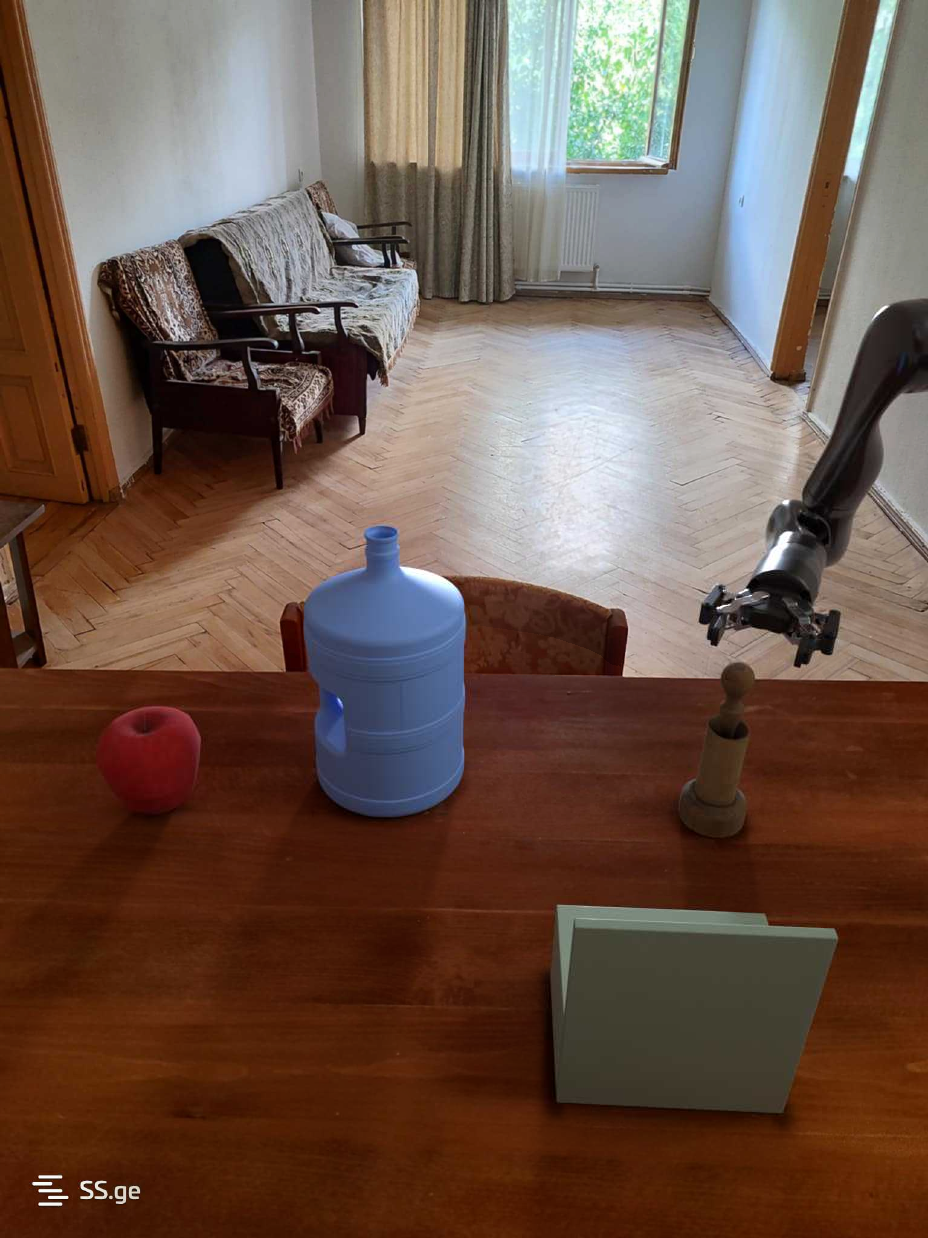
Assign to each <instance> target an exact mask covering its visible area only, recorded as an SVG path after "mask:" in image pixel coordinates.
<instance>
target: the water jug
mask: <svg viewBox="0 0 928 1238" xmlns="http://www.w3.org/2000/svg"><path fill="white" fill-rule="evenodd" d="M399 536H400V532H399V529H397V528H396V527H394V526H390V525H374V526H371V527H368V528H366V529H365V530H364V532H363V537H364V539H365V541H366V543H365V544H366V545H365V548H364V555H365V558H366V560H365V561H366V567H361V568H355V569H352V570H348V571H345V572H341V573H338V574H337V575H334V576H332V577H330V578H328V579H326V580H324V581H322V582H321V583H320V584H318V585H317V586H316V587H315V588H314V589H313V590H312V591H310V593H309V595H308V596H307V597H306V600H305V603H304V605H303V618H304V619H303V637H304V644H305V649H306V652H307V663H308V670H309V673H310V675H311V677H312V678H313V680H314V681H315V683H316V684H317V685H318V694H319V704H320V705H319V707H318V709H317V711H316V714H315V717H314V725H313V729H314V739H315V748H316V754H315V755H316V756H315V766H316V774H317V779H318V782H319V785H320V786H321V788H322V790H323V791H324V793H325V794H326V796H328V798H330V800H332V801H333V802H334V803H335V804H337V805H338V806H340V807H342V808H343V809H346V810H348V811H350V812H351V813H355V814H359V815H362V816H366V817H374V818H399V817H406V816H407V817H408V816H411V815H416V814H419V813H421V812H422V813H423V812H424V811H427V810H429V809H431V808H433V807H435V806H436V805H438V804H441V803H442V802H443V801H445V800H446V799H447V798H448V797H450V795H451V794H452V793H453V792H454V791H455V790H456V788H457V787H458V785H459V783H460V782H461V780H462V778H463V775H464V769H465V749H464V713H465V704H466V689H465V683H464V679H465V678H464V677H465V673H464V672H465V671H464V669H465V642H466V631H467V630H466V626H467V623H466V613H465V601H464V598H463V595H462V594H461V592H460V591H459V589H458V588H457V586H455V584H453V583H452V582H450V581H449V580H448V579H446V578H444V577H442V576H441V575H439V574H436V573H434V572H431V571H427V570H425V569H424V570H423V569H419V568H415V567H408V566H401V565H400V546H399V544H398V538H399Z"/></svg>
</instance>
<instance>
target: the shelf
mask: <svg viewBox="0 0 928 1238" xmlns="http://www.w3.org/2000/svg"><path fill="white" fill-rule="evenodd" d="M838 941H839V937H838V934H837V932H836V929H835V928H823V927H822V928H821V927H801V926H800V927H798V926H778V925H777V926H776V925H775V926H774V925H769V923H768V920H767V917H766V914H765V913H759V912H734V911H712V910H711V911H710V910H691V909H690V910H689V909H688V910H686V909H661V908H642V907H641V908H640V907H639V908H638V907H616V906H615V907H613V906H592V905H591V906H590V905H589V906H588V905H568V904H567V905H565V904H557V905H556V909H555V918H554V929H553V941H552V954H551V964H550V976H549V977H550V996H551V1015H552V1016H551V1018H552V1036H553V1037H552V1038H553V1057H554V1059H553V1060H554V1077H555V1097H556V1103H559V1104H560V1103H561V1104H581V1105H600V1106H602V1105H603V1106H621V1107H622V1106H623V1107H641V1108H642V1107H643V1108H662V1109H663V1108H664V1109H683V1110H704V1111H705V1110H707V1111H709V1110H710V1111H726V1112H744V1113H745V1112H747V1113H766V1114H767V1113H768V1114H783V1113H784V1110H785V1106H786V1104H787V1101H788V1097H789V1095H790V1092H791V1089H792V1085H793V1082H794V1079H795V1076H796V1072H797V1069H798V1066H799V1063H800V1060H801V1057H802V1053H803V1050H804V1048H805V1045H806V1041H807V1038H808V1034H809V1032H810V1030H811V1029H810V1028H811V1025H812V1022H813V1019H814V1017H815V1013H816V1010H817V1007H818V1003H819V1001H820V998H821V994H822V991H823V988H824V984H825V982H826V980H827V979H826V978H827V975H828V973H829V970H830V966H831V963H832V960H833V956H834V954H835V950H836V947H837V944H838Z"/></svg>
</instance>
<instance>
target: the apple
mask: <svg viewBox="0 0 928 1238" xmlns="http://www.w3.org/2000/svg"><path fill="white" fill-rule="evenodd" d="M201 741H202V737H201V735H200V732H199V730H198V728H197V726H196V724H195V722H194V721H193V719H192V718H191V716H190V714H188V713H186V712H184V711H182V710H180V709H179V708H178V709H177V708H175V707H170V706H162V705H159V706H158V705H153V706H151V705H150V706H145V707H144V706H143V707H139V708H137V709H133V710H131V711H130V710H129V711H128V712H126V713H124V714H122V715H121V716H118V717H117V718H115V719H114V720H113V721H112V722H111V723H110V724H109V725H108V726H107V727H106V728H104V730H102V732H101V733H100V734H99V737H98V741H97V744H96V751H95V752H96V753H95V756H94V762H95V764H96V766H97V768H98V770H99V772H100V774H101V775H102V777H103V779H104V781H105V783H106V784H107V786H108V787H109V789H110V790H111V792H112V793H113V794H114V795H115V796H116V797H117V799H119V801H120V802H121V803H122V804H123V805H124V807H126V808H127V809H129V810H131V811H132V812H134V813H141V814H146V815H147V814H149V815H162V814H165V813H168V812H171V811H173V810H174V809H176V808H177V807H179V806H180V805H181V804H183V803H185V802H186V801H187V800H188V799H189V797H190V796H191V794H192V792H193V791H194V789H195V783H196V780H197V775H198V771H199V763H200V755H201V743H202V742H201Z"/></svg>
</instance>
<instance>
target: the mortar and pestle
mask: <svg viewBox="0 0 928 1238" xmlns="http://www.w3.org/2000/svg"><path fill="white" fill-rule="evenodd" d="M720 683H721V686H722V688H723V691H724V692H725V699H724V700H722V701H721V702H720V703H719V714H718V715H713V716H712V717H710V718H709V719H708V721H707V725H706V730H705V735H704V741H703V747H702V753H701V757H700V761H699V762H700V763H699V766H698V771H697V776H696V778H693V779H692V780H689V781H688V782H687V783H685V785H683V786H682V788H681V791H680V796H679V801H678V807H677V809H678V810H677V812H678V816H679V819H680V820H681V821H682V823H683V824H684V825H685V826H686V827H687V828H688V829H690V830H691V831H693V832H694V833H696V834H699V835H701V836H704V837H708V838H713V839H724V838H729V837H732V836H734V835H736V834H738V833H739V832H740V831H741V829H742V828H743V826H744V823H745V819H746V815H747V810H748V801H747V798H746V796H745V794H744V793H743V792H742V791H741V790H740V789H739V788H738V786H739V783H740V778H741V775H742V774H741V773H742V768H743V766H744V761H745V757H746V751H747V748H748V744H749V739H750V735H751V729H750V727H749V725H748V724H747V723H746V722H744V720H742V718H743V716H744V714H745V712H746V707H745V705H744V704H743V703H742V700H743V698H745V696H746V695H747V694H748V693H749V692H750V691H751V690H752V689H753V688H754V686H755V683H756V675H755V671H754V669H753V668H752V667H751V666H750V665H749V664H747V663H745V662H741V661H733V662H730V663H728V664H727V665H726V666H724V667H723V669H722V671H721V674H720Z"/></svg>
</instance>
